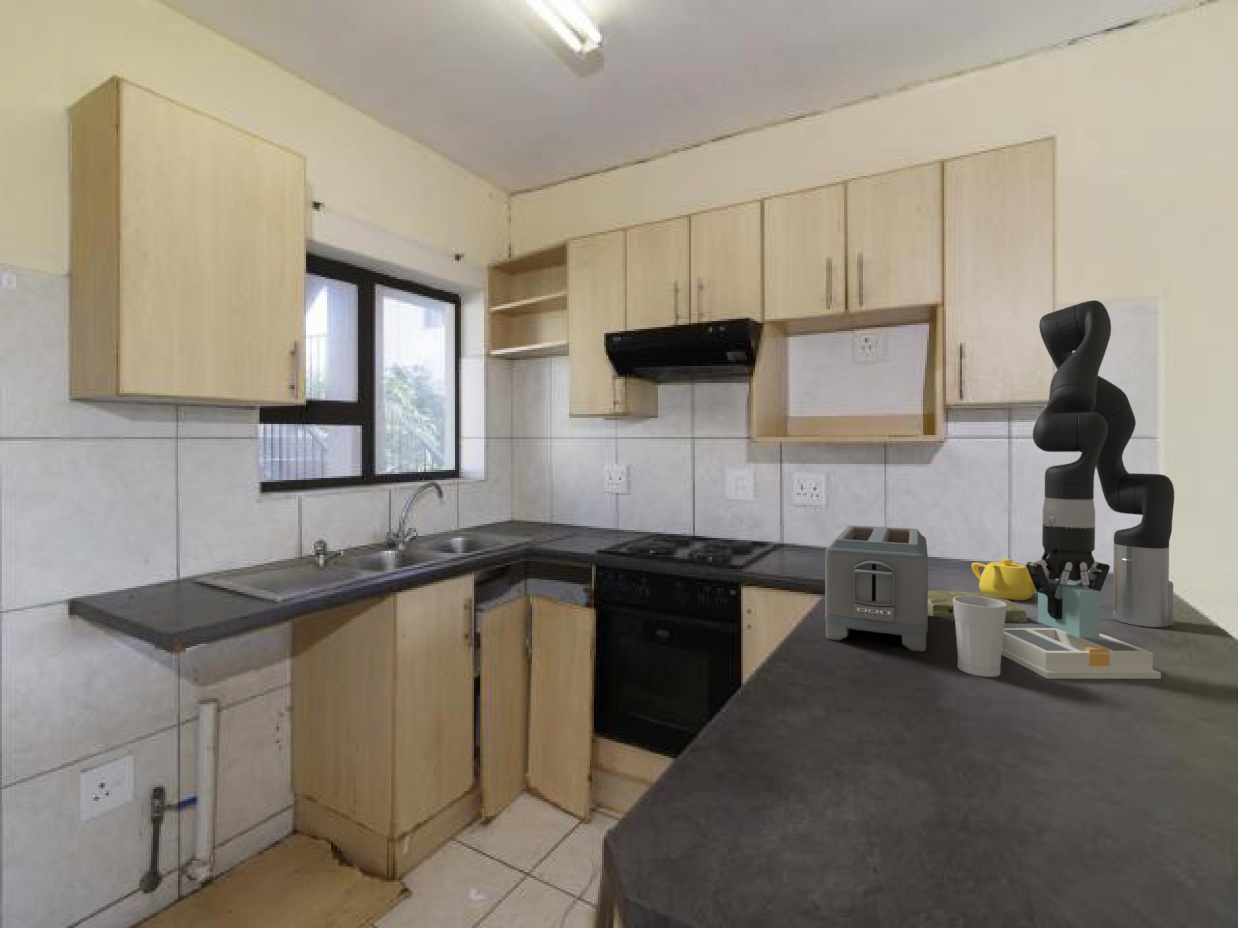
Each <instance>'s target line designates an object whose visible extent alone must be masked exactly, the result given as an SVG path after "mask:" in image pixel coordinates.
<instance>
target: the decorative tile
mask: <svg viewBox="0 0 1238 928" xmlns="http://www.w3.org/2000/svg"><path fill="white" fill-rule="evenodd" d="M957 596H978V597H986V598H991V599H996V600H999V601H1002V602H1004V603H1006V604H1007V607H1006V616H1005V622H1009V623H1010V622H1012V623H1013V622H1015V623H1028V618H1027V613H1026V610H1025V609H1023V608H1022V607H1019V606H1017V605H1015V604H1014V603H1013V601H1010V599H1004V598H1001V597H999V596H997V595H993V594H990V593H982V592H972V591H949V590H948V591H946V590H945V591H943V590H928V615H930V616H931V617H934V618H942V619H943V618H945V619H946V618H954V619H955V617H954V607H953V598H954V597H957Z"/></svg>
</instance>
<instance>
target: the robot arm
mask: <svg viewBox="0 0 1238 928" xmlns="http://www.w3.org/2000/svg"><path fill="white" fill-rule="evenodd" d="M1038 326H1039V327H1038V328H1039V333H1040V336H1041V339H1042V341H1043V342H1042V343H1043V344H1044V346H1045V348H1046V351H1047V352H1048V354H1049V356H1050V358H1051V361H1052V362H1053V364H1054V366H1055V369H1056V372H1054V374H1053V376H1052V378H1051V382H1050V387H1049V396H1048V401H1047V403H1046V405H1045V408H1043V410H1042V411H1041V413H1040V414H1039V416H1038V418H1037V420H1036V421H1035V423H1034V427H1033V430H1032V439H1033V442H1034V444H1035V446H1036V447H1037V448H1039V450H1041V451H1043V452H1048V453H1053V452H1054V453H1078V452H1080V453H1081V454H1080V456H1079V458H1078V459H1077V460H1075V461H1073V462H1070V463H1065V464H1058V465H1052V466H1049V467H1048V468H1046V470H1045V473H1044V500H1043V501H1044V502H1043V506H1042V530H1041V531H1042V532H1041V533H1042V535H1041V536H1042V538H1041V539H1042V540H1041V544H1042V545H1041V546H1042V548H1043V550H1044V552H1043V554H1042V556H1041V559H1039V560H1037V561H1028V562H1026V565H1025V566H1026V567H1027V569H1028V571H1029V574H1030V576H1031V579H1032V582H1033V584H1034V587H1035V589H1036V590H1035V592H1037V593H1038V592H1039V593H1042V594H1045V595H1046V596H1047V598H1048V602H1047V612H1048V614H1050V617H1052V618H1054V619H1062V599H1060V598H1061V597H1062V593H1063V587H1066V586H1067V582H1069V583H1071V584H1074V585H1078V586H1081V587H1086V588H1090V589H1093V590H1097V591H1100V592H1101V591H1102V589H1103V586H1104V583H1106V582H1105V581H1106V579H1107V576H1108V573H1109V571H1110V568H1111V566H1110V564H1107V563H1102V562H1099V561H1096V560H1095V558H1094V556H1093V553H1092V552H1094V551H1095V549H1096V547H1095V546H1096V510H1095V509H1096V508H1095V502H1094V499H1095V497H1094V496H1095V494H1094V492H1095V489H1094V488H1095V473H1096V471H1097V476H1098V479H1099V483H1100V486H1101V490H1102V493H1103V497H1104V499H1105V501H1106V504H1107V506H1108V507H1109V508H1110V509H1111V510H1112V511H1113V512H1115V513H1119V514H1128V515H1129V514H1130V515H1139V516H1142V517H1141V521H1140V522H1139V524H1137V525H1135V526H1132V527H1129V528H1122V529H1119V530H1118V529H1117V530H1116V531H1115V532H1114V533H1113V569H1112V570H1113V578H1112V579H1113V581H1112V583H1113V586H1112V587H1113V590H1112V618H1113V619H1114V620H1115V621H1118V622H1121V623H1124V624H1129V625H1134V626H1139V627H1140V626H1141V627H1149V628H1166V627H1168V626H1173V625H1174V621H1173V620H1174V619H1173V618H1174V614H1173V613H1174V583H1173V581H1171V580H1170V578H1169V577H1170V576H1169V575H1170V540H1171V536H1172V532H1173V531H1172V529H1173V515H1174V506H1175V505H1174V504H1175V488H1174V484H1173V482H1172V480H1171V479H1170V477H1168V476H1167V475H1165V474H1161V473H1160V474H1159V473H1133V472H1132V473H1131V472H1128V471H1127V470H1126V467H1125V465H1124V461H1123V454H1124V451H1125V449H1126V447H1127V445H1128V443H1129V441H1130V439H1131V438H1132V435H1133V433H1134V432H1135V430H1136V429H1135V428H1136V423H1137V421H1136V417H1135V415H1134V412H1133V408H1132V406H1131V403H1130V401H1129V398H1128V395H1127V394H1126V393H1125V392H1124V391H1123V390H1122V389H1121V388H1119V387H1118V386H1116V384H1114V383H1112V382H1110V381H1109V380H1107V379H1105V378H1104V377H1101V376H1100V375H1099V371H1100V368H1101V365H1102V362H1103V361H1104V358H1105V354H1106V352H1107V349H1108V348H1107V347H1108V345H1109V341H1110V339H1111V332H1112V324H1111V318H1110V315H1109V312H1108V310H1107V308H1106V307H1105V305H1104V304H1103V303H1102V302H1101V301H1099V300H1097V299H1095V300H1087V301H1084V302H1080V303H1077V304H1073V305H1070V306H1067V307H1064V308H1062V309H1058V310H1056V311H1052V312H1049V313H1047V314H1044V315H1043V316H1042V317H1041V318H1040V319H1039V325H1038ZM1045 567H1046V568H1047V569H1046V570H1045ZM1046 573H1047V574H1046ZM1056 579H1058V581H1057V580H1056Z"/></svg>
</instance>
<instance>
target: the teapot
mask: <svg viewBox="0 0 1238 928" xmlns="http://www.w3.org/2000/svg"><path fill="white" fill-rule="evenodd" d="M1000 561H1001V562H1000ZM1000 561H993V562H992V561H991V562H989V563H987V564H985V563H981V562H976V561H975V562H972V563H971V566H970V567H971V569H972V572H973V573H974V575H975V576H976V578H978V580H979V583H978V584H979V585H978V586H979V587H978V588H979V589H980V593H990V594H993V595H997V596H999V597H1001V598H1002V599H1005V600H1011V601H1026V600H1029V599H1031V597H1033V595H1034V593H1035V592H1036V589H1035V587H1034V584H1033V582H1032V579H1031V576H1030V574H1029V571H1028V568H1027V566H1026V565H1024V564H1019V563H1018V562H1013V559H1011V558H1001V559H1000ZM979 567H982V568H984V569H983V571H982V573H981V572H980V570H979ZM1045 570H1046V571H1047V570H1048V569H1047V568H1046V567H1045Z"/></svg>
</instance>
